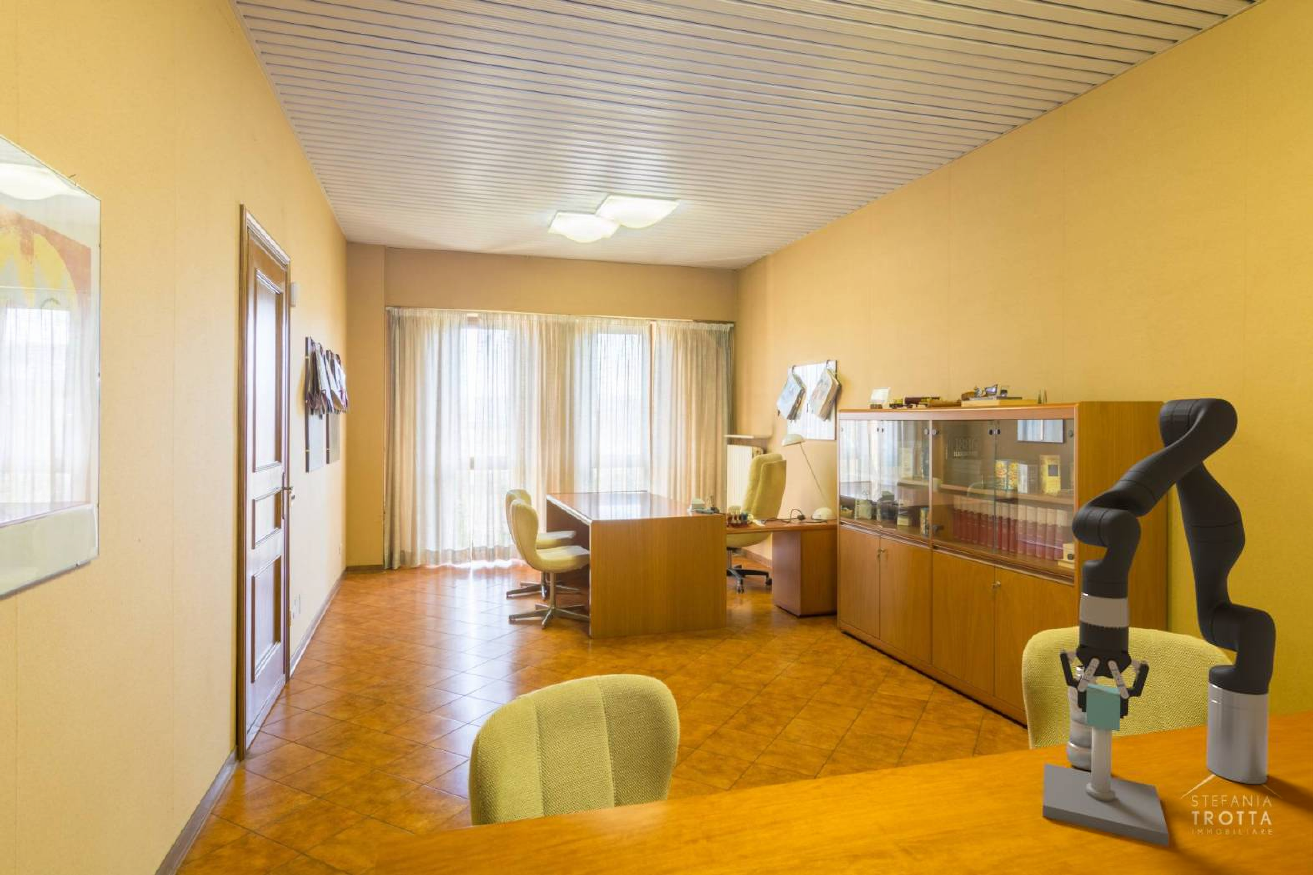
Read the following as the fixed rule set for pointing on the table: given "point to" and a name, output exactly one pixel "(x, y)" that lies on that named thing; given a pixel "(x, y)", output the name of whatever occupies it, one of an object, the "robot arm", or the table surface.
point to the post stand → (1103, 797)
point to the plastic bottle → (1079, 729)
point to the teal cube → (1102, 707)
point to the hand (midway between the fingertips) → (1102, 713)
